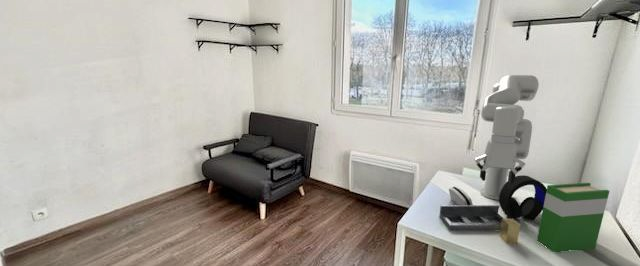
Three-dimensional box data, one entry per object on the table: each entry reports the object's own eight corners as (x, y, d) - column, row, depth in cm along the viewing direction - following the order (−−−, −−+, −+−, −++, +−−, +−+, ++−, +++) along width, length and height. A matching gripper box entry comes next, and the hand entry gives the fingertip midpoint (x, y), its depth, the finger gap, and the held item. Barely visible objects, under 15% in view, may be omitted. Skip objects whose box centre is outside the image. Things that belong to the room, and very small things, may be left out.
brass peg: (510, 236, 116) (513, 218, 115) (517, 242, 112) (520, 224, 110) (499, 236, 116) (502, 218, 115) (505, 242, 112) (508, 224, 110)
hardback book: (575, 237, 115) (588, 182, 110) (594, 248, 108) (609, 190, 102) (536, 241, 113) (547, 185, 107) (553, 252, 106) (566, 193, 100)
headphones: (505, 223, 126) (511, 181, 121) (495, 215, 132) (501, 175, 127) (544, 221, 127) (552, 179, 122) (532, 214, 133) (540, 174, 129)
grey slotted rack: (495, 217, 131) (497, 205, 129) (511, 230, 120) (513, 218, 119) (439, 216, 131) (440, 205, 130) (449, 230, 121) (450, 217, 119)
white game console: (478, 214, 134) (473, 196, 131) (468, 217, 134) (464, 199, 131) (459, 197, 150) (455, 181, 147) (451, 200, 150) (446, 184, 148)
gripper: (524, 138, 110) (517, 179, 113) (475, 135, 114) (470, 175, 118) (533, 143, 102) (525, 187, 106) (480, 139, 107) (474, 182, 111)
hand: (496, 180), depth 112 cm, fingers open, 9 cm apart
